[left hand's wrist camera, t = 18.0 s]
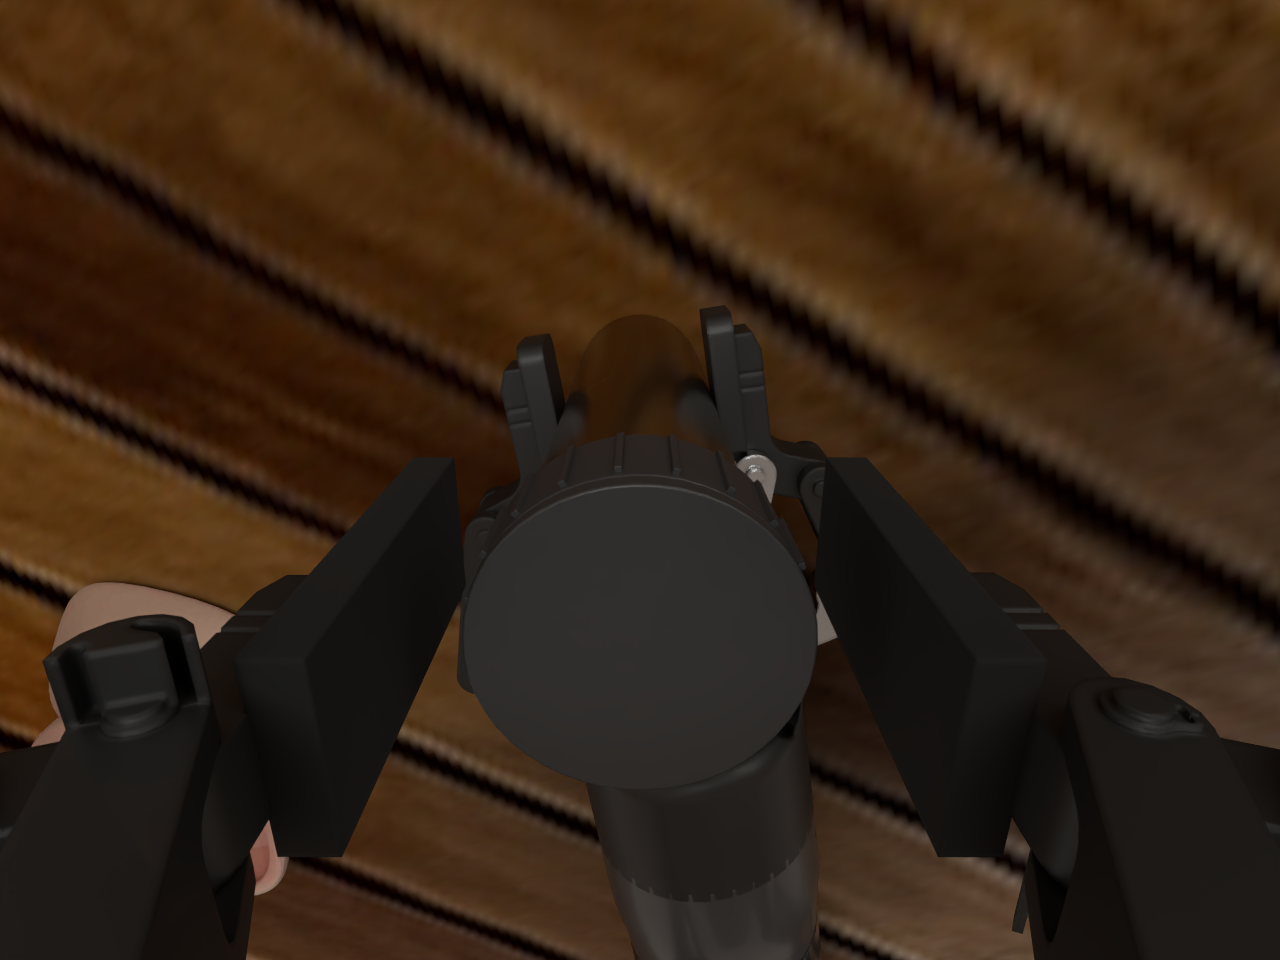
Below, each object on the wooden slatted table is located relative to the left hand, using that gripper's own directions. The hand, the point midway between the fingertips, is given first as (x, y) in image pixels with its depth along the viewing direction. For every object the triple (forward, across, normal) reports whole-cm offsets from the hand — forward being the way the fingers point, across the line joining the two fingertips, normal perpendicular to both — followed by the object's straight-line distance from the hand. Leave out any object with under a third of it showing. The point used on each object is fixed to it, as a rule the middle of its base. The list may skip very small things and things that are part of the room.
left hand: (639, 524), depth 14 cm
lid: (-4, 0, 0) cm, 4 cm away
